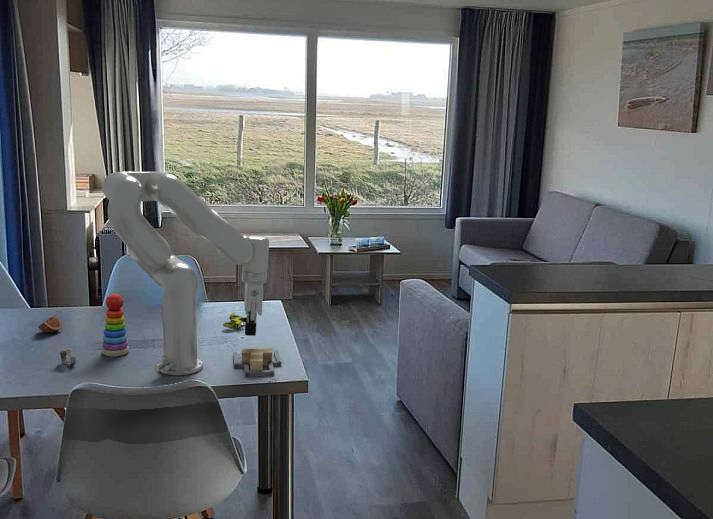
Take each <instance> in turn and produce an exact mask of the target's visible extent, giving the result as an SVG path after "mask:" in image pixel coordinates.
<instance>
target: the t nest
mask: <svg viewBox="0 0 713 519" xmlns="http://www.w3.org/2000/svg"><path fill="white" fill-rule="evenodd" d="M273 355H274V359H275V360H272V361H268V365H267V368H268V369H263V370H262V371H250V368H249V366H250V365H248V362H243V363H242V362H239V356H238V352H237V351H235V352H232V357H233V358H232V359H233V365H234V366H233V367H234V369H243V370H244V377H245V378H248V377H251V378H252V377H270V376H275V368H274V367H282V359H281V356H280V352H279V349H278V350H277V349H275V350H273Z"/></svg>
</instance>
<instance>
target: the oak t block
mask: <svg viewBox="0 0 713 519" xmlns="http://www.w3.org/2000/svg"><path fill="white" fill-rule="evenodd" d="M268 361H273V348H241V363H243V362H248V366H250V368H249V371H262V370H264V366H268Z"/></svg>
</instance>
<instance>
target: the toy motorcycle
mask: <svg viewBox="0 0 713 519" xmlns="http://www.w3.org/2000/svg"><path fill="white" fill-rule="evenodd" d="M246 317H247V316H240V315H236V313H235V312H231V314H230V315H229V316H228V319H229V320H230V321H225V322H223V324H222V326H223V327H225V328H232V327H236V328H237V329H238V328H242V329H243V328H244V323H246Z"/></svg>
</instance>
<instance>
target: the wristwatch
mask: <svg viewBox="0 0 713 519" xmlns="http://www.w3.org/2000/svg"><path fill="white" fill-rule="evenodd" d="M59 355H60V356H59V357H60V360H61V363H62V365H64V364H65V366H66V365H67V366H66V367H68V366H69V367H72V366H75V365H76V363H77V359H76V358H77V357H76V356H75V355H74V352H73V349H72V348H70V347H68V348H64V349H63V350H61V351H59ZM67 356H68V358H69V360H70V362H69V361H68V360H67Z"/></svg>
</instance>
